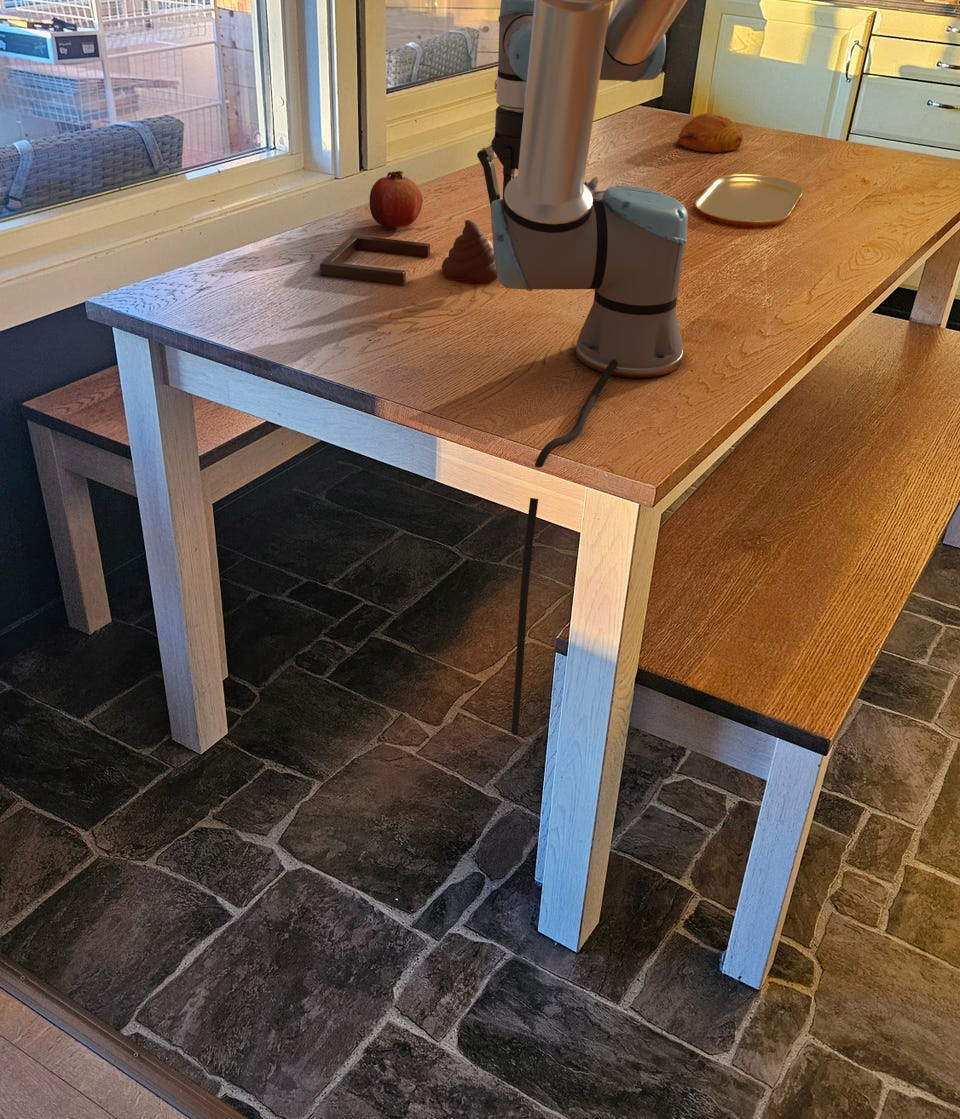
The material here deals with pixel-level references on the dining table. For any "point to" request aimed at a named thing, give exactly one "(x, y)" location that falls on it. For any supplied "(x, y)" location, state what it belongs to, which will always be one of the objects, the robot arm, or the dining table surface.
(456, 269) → the poop emoji
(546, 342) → the dining table surface
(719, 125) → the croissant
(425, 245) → the dark brown u-shaped frame
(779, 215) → the serving platter
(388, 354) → the dining table surface
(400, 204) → the fruit
